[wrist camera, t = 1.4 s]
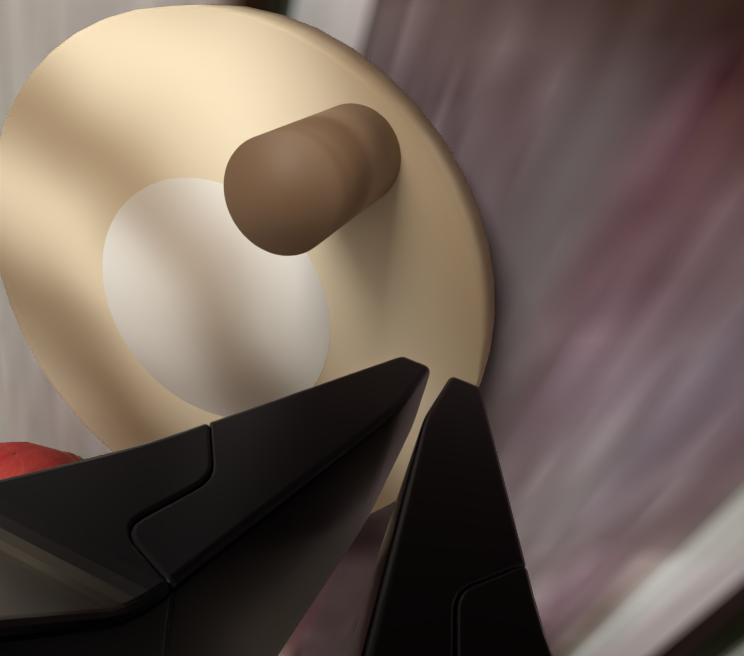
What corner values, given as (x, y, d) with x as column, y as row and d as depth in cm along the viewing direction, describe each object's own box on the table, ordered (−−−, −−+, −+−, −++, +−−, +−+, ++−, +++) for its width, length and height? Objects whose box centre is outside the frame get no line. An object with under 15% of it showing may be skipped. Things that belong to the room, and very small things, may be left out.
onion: (117, 539, 32) (-31, 690, 25) (14, 469, 32) (-157, 598, 25) (147, 455, 28) (-13, 601, 22) (33, 379, 29) (-158, 499, 22)
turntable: (271, 557, 27) (185, 684, 22) (-29, 249, 26) (-191, 311, 21) (620, 333, 18) (605, 460, 13) (195, -146, 17) (8, -197, 12)
